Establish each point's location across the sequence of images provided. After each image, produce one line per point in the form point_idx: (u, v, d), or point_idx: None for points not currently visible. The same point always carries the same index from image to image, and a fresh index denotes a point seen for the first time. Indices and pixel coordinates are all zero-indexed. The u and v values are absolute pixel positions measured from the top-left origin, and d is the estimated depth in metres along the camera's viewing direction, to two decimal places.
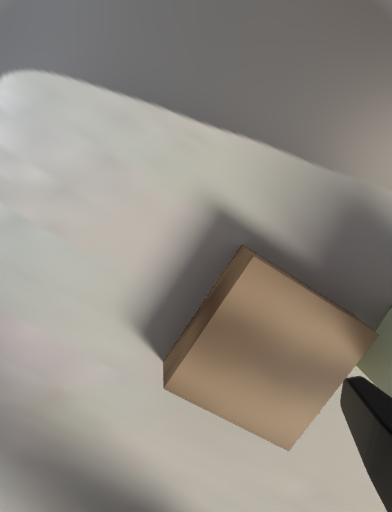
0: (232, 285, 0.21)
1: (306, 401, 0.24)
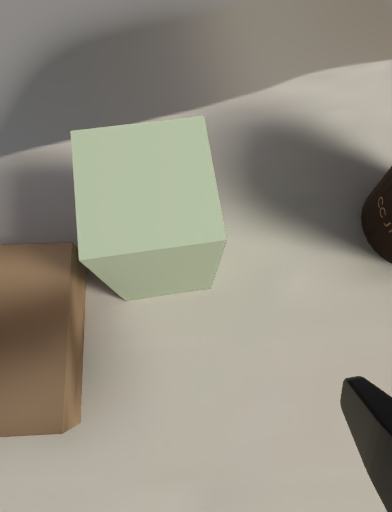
0: None
1: (41, 356, 0.19)
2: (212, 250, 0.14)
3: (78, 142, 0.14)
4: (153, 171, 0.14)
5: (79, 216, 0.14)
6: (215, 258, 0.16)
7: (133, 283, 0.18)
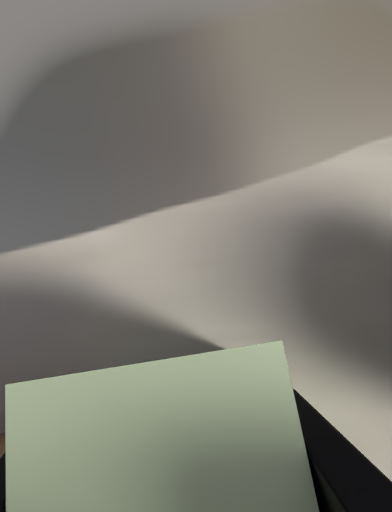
0: None
1: None
2: None
3: (20, 413, 0.07)
4: (181, 488, 0.06)
5: None
6: None
7: None
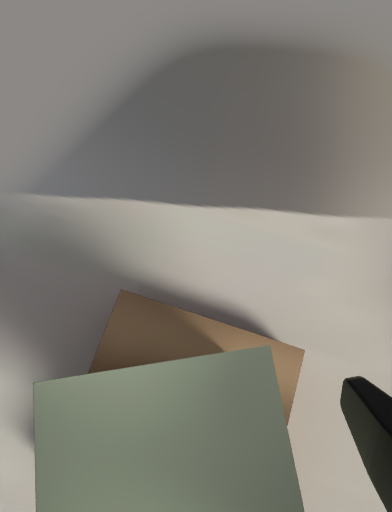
0: (106, 329, 0.18)
1: None
2: None
3: (46, 407, 0.08)
4: (183, 470, 0.08)
5: None
6: None
7: None
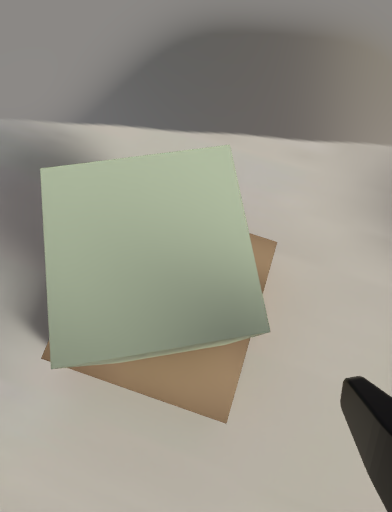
0: None
1: None
2: (244, 337, 0.10)
3: (51, 185, 0.10)
4: (160, 227, 0.10)
5: (52, 298, 0.09)
6: (244, 338, 0.11)
7: (130, 359, 0.14)
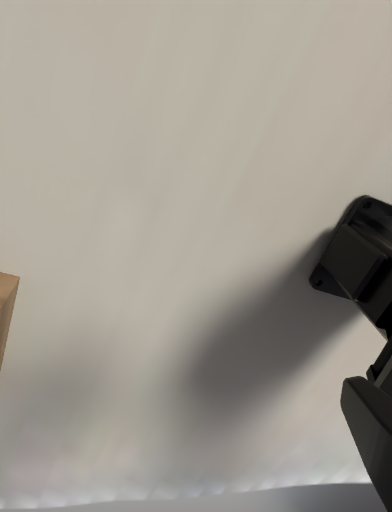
0: None
1: None
2: None
3: None
4: None
5: None
6: None
7: None
